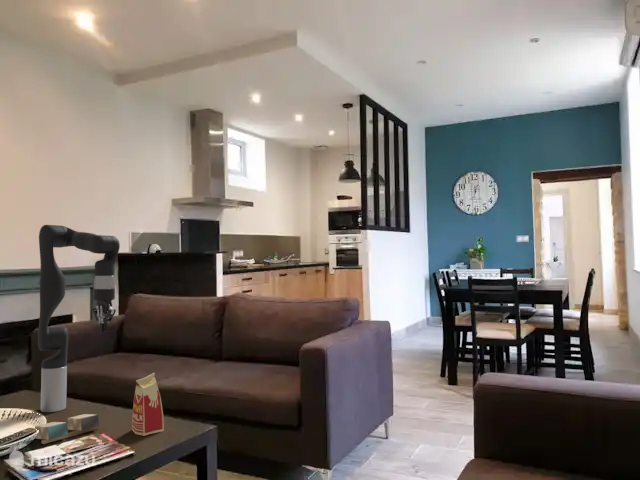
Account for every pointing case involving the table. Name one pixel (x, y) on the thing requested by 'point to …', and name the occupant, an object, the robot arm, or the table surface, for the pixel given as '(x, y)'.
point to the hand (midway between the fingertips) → (103, 333)
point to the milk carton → (147, 407)
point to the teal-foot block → (52, 430)
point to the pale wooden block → (83, 422)
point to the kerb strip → (69, 435)
